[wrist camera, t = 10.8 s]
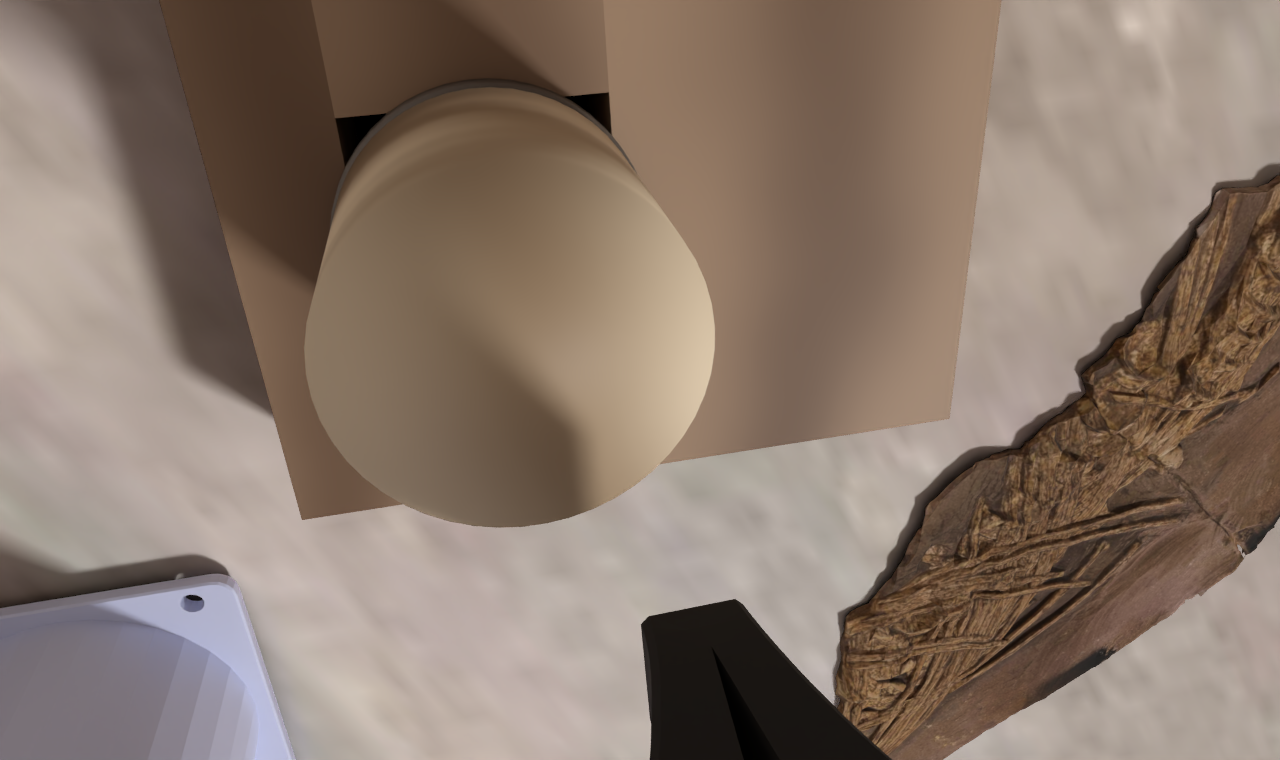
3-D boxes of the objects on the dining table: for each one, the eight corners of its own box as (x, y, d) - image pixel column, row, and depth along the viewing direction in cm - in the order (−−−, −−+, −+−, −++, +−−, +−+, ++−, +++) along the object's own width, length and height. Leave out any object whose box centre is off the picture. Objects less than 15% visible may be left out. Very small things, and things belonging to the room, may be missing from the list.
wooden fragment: (1336, 52, 23) (1373, 60, 22) (1512, 287, 27) (1550, 301, 26) (674, 750, 30) (682, 778, 29) (906, 842, 34) (919, 869, 33)
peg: (377, 342, 20) (356, 563, 14) (309, 74, 18) (245, 192, 11) (633, 299, 21) (727, 490, 15) (605, 35, 18) (707, 126, 12)
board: (315, 442, 22) (302, 520, 19) (35, -665, 13) (-60, -798, 10) (891, 359, 24) (948, 418, 21) (979, -642, 15) (1094, -747, 13)
